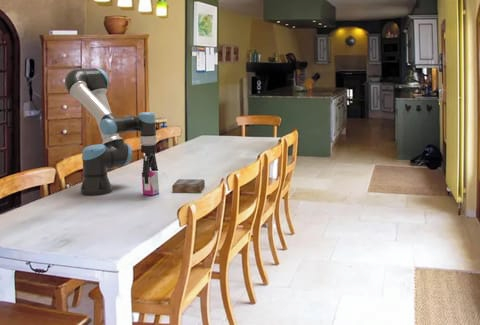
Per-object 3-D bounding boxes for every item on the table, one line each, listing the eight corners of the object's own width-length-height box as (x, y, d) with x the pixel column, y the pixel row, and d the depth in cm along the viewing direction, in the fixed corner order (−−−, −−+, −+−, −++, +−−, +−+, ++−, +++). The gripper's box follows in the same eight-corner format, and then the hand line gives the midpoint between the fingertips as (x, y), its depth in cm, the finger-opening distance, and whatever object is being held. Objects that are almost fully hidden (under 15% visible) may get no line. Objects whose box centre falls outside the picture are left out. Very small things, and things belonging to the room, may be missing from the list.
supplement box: (151, 192, 288) (150, 170, 286) (159, 194, 284) (158, 171, 282) (142, 194, 284) (141, 171, 281) (150, 196, 280) (149, 173, 278)
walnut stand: (172, 192, 287) (172, 184, 286) (178, 186, 301) (177, 178, 300) (200, 192, 286) (200, 185, 285) (204, 186, 299) (204, 178, 299)
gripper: (149, 148, 267) (152, 192, 270) (162, 140, 291) (164, 181, 295) (134, 148, 267) (136, 192, 271) (147, 140, 292) (149, 181, 296)
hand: (151, 187), depth 283 cm, fingers open, 13 cm apart
